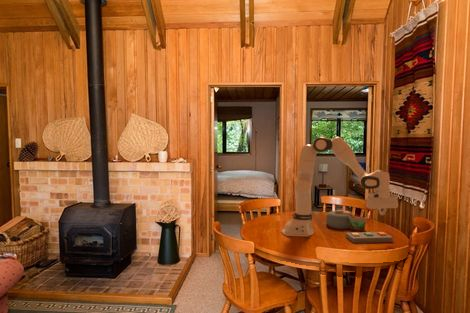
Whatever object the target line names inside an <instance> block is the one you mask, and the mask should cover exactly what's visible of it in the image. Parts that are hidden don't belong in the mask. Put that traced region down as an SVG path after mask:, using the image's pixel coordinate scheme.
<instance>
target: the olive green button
mask: <svg viewBox="0 0 470 313" xmlns="http://www.w3.org/2000/svg"><path fill="white" fill-rule="evenodd" d="M363 232H364V235H366V236H373V234H372V233H370V232H371V231H370V232H369V231H368V232H367V231H363Z"/></svg>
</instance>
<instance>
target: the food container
mask: <svg viewBox="0 0 470 313" xmlns="http://www.w3.org/2000/svg"><path fill="white" fill-rule="evenodd" d="M349 219H350V224H351V227H350V230H352V231H354V232H365V230H366V229H365V228H366V221H367V220H368V219H367V217H366V216H365V217H362V216H361V217H360V216H353V217H351V216H349Z"/></svg>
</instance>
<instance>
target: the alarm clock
mask: <svg viewBox="0 0 470 313" xmlns="http://www.w3.org/2000/svg"><path fill="white" fill-rule="evenodd" d="M349 216H351V217H354V215H353V213H352V212H351V211H349V210H344V209H335V210H330V211H328V212H327V214H326V217H325V219H326V221H325V223H326V224H327V227H330V228H333V229H341V230H342V229H344V230H345V229H351V224H350V219H349Z"/></svg>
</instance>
